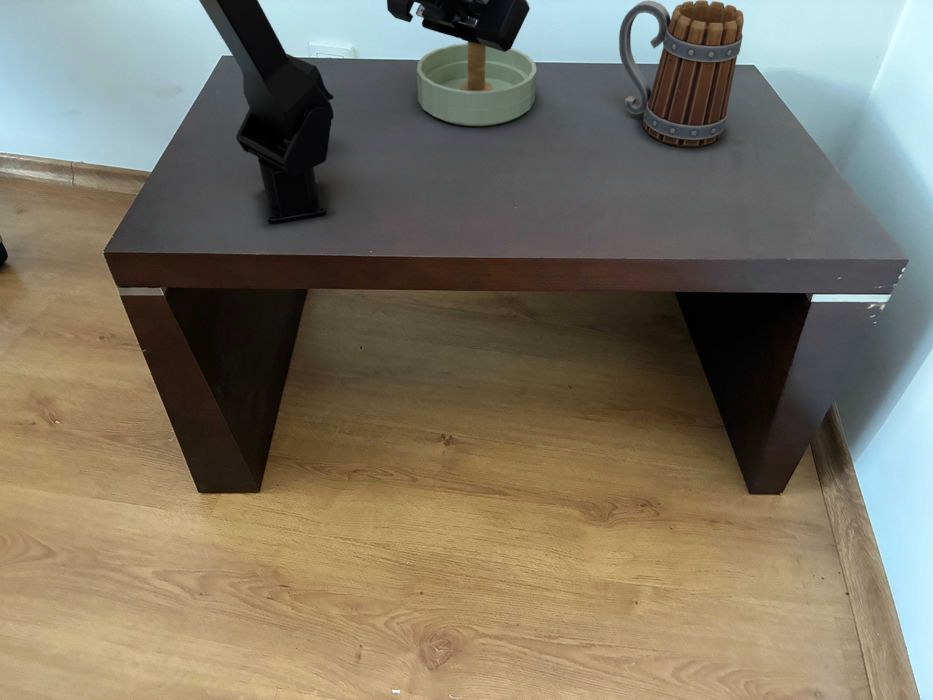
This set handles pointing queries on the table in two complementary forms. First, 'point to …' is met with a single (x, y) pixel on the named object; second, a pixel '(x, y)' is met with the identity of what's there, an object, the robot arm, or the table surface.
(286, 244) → the table surface
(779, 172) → the table surface
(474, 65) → the wooden pestle
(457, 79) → the bowl
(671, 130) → the mug
